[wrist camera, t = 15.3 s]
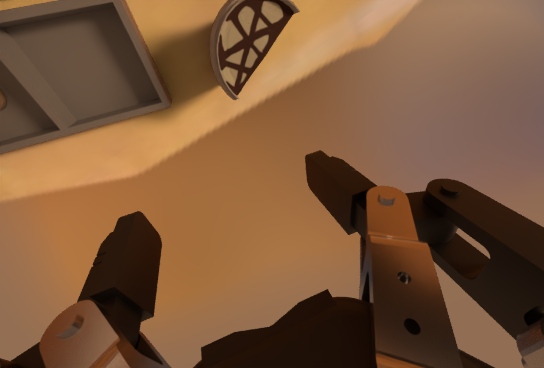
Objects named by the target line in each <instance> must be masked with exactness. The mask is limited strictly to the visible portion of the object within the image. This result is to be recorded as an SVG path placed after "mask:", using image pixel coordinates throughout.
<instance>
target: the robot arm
mask: <svg viewBox="0 0 544 368" xmlns="http://www.w3.org/2000/svg"><path fill="white" fill-rule="evenodd" d="M305 163H306V174H307V182H308V185H309V188H310V189H311V191H312V192H313V193H314V194H315V196H316V197H317V198H318V199H319V201H320V202H321V203H322V204H323V205H324V206H325V208H326V209H327V210H328V211H329V212H330V214H331V215H332V216H333V217H334V218H335V219H336V220H337V222H338V223H339V224H340V225H341V227H342V228H343V229H344V230H345V231H346V233H347V234H348V235H350V234H352V233H355V232H358V233H359V234H360V235H361V237H360V287H359V288H360V289H359V299H355V298H350V297H332V296H331V294H330V293H329V291H328V289H327V290H325V291H323V292H320V293H318V294H316V295H314V296H312V297H310V298H307V299H305V300H303V301H301V302H299V303H298V304H297V305H295V306H294V307H293V308H292V309H291V310H290V311H288V312H287V313H286V314H285V315H284V316H283V317H281V318H280V319H279V320H278V321H277V322H276V323H275V324H273V325H272V326H270V327H265V328H259V329H252V330H246V331H239V332H234V333H232V334H230V335H227V336H225V337H223V338H221V339H219V340H217V341H214V342H212V343H210V344H208V345H206V346H204V347H201V353H202V354H201V355H202V360H201V361H200V362H198V363H197V364H196V365H195V366H194V367H193V368H494V367H492V366H490V365H488V364H487V363H484V362H483V361H481V360H479V359H477V358H475V357H473V356H471V355H469V354H467V353H465V352H463V351H461V350H460V349H458V347H457V344H456V340H455V337H454V333H453V329H452V326H451V322H450V319H449V315H448V312H447V308H446V305H445V302H444V298H443V294H442V291H441V287H440V284H439V281H438V277H437V273H436V270H435V266H434V262H435V263H436V264H437V265H438V266H439V267H440V268H441V269H442V270H444V272H446V273H447V274H448V275H449V276H450V277H451V278H452V279H453V280H454V281H455V282H456V283H457V284H458V285H459V286H460V287H461V288H462V289H463V290H464V291H465V292H466V293H467V294H468V295H469V296H471V297H472V298H473V299H474V300H475V301H476V302H477V303H478V304H479V305H480V306H481V307H482V308H483V309H484V310H485V311H486V312H487V313H488V314H489V315H490V316H491V317H492V318H493V319H494V320H496V322H498V323H499V324H500V325H501V326H502V327H503V328H504V329H505V330H506V331H507V332H508V333H509V334H510V335H511V336H512V337H513V338H514V339H515V340H516V343H517V347H518V350H519V352H520V354H521V356H522V360H521V361H522V364H523V366H524V368H544V227H542V226H540V225H538V224H536V223H535V222H533V221H531V220H529V219H528V218H526V217H524V216H522V215H520V214H518V213H517V212H515V211H513V210H511V209H509V208H508V207H506V206H504V205H502V204H500V203H498V202H497V201H495V200H493V199H491V198H490V197H488V196H486V195H484V194H482V193H481V192H479V191H477V190H475V189H473V188H472V187H470V186H468V185H466V184H464V183H462V182H459V181H456V180H451V179H435V180H432V181H431V182H429V183H428V185H427V188H426V191H422V192H414V193H404V192H402V191H401V190H399V189H397V188H394V187H390V186H377V185H375V184H374V183H373V182H371V181H370V180H369V179H367V178H366V177H365V176H363V175H362V174H361V173H359V172H358V171H356V170H355V169H354V168H353V167H351V166H350V165H349V164H348V163H346V162H345V161H344V160H342V159H339V158H336V157H333V156H332V157H329V156H327V155H326V154H325V153H324V152H322V151H321V150H319V151H316V152H313V153H310V154H308V155H306V156H305ZM458 228H460V229H461V230H462V231H464V232H465V233H466V234H468V235H469V236H470V237H472V238H473V239H475V240H476V241H477V242H479V243H480V244H481V245H483V246H484V247H485V248H486V249H487V251H488V252H489V254H490V259H489V258H488V257H487V256H485V255H484V254H483V253H481V252H480V251H479V250H477V249H476V248H475V247H473V246H472V245H471V244H470V243H468V242H467V241H466V240H464V239H463V238H462V237H460V236H459V235H458V234H457V233H456V231H457V229H458ZM161 248H162V242H161V238H160V235H159V234H158V232H157V231H156V230H155V228H154V227H153V226H152V224H151V223H150V222H149V221H148V219H147V218H146V217H145V216H144V214H143V213H142V212H140V211H137V212H134V213H132V214H128V215H125V216H123V217H120V218H119V219H118V221H117V224H116V226H115V229H114V231H113V232H111V233H110V234H109V235H108V236H107V238H106V239H105V240H104V241H103V243H102V244H101V246H100V248H99V251H98V253H97V257H96V258H95V260H94V262H93V267H92V268H91V270H90V272H89V274H88V277H87V279H86V282H85V284H84V287H83V289H82V292H81V294H80V296H79V298H78V301H77V303H75V304H73V305H71V306H70V307H68V308H67V309H66V310H64V311H63V312H62V313H61V314H59V315H58V316H57V317H56V318H55V319H54V320H53V321H52V323H51V324H50V325H49V326H48V328H47V329H46V331H45V333H44V334H43V336H42V338H41V341H40V342H39V343H37V344H36V345H34V346H33V347H31V348H30V349H28V350H27V351H25V352H24V353H22V354H21V355H19V356H17V357H16V358H15V359H13V360H11V361H8V360H4V359H1V358H0V368H171V367H170V365H169V364H168V363H167V362H166V361H165V360H164V358H163V357H162V356H161V355H160V353H159V352H158V351H157V350H156V349H155V347H154V346H153V345H152V344H151V343H150V341H149V340H148V339H147V338H146V336H145V335H144V334H143V333H142V332H141V331H140V324H141V322H142V321H144V320H147V319H149V318H151V317H153V316H154V309H155V300H156V292H157V283H158V274H159V266H160V257H161ZM433 261H434V262H433Z"/></svg>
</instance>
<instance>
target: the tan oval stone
mask: <svg viewBox="0 0 544 368" xmlns="http://www.w3.org/2000/svg"><path fill="white" fill-rule="evenodd" d="M6 106H7V98H6V96H5V94H4V92H3V91H2V90H1V89H0V111H2V110H3V109H5V108H6Z"/></svg>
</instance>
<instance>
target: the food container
mask: <svg viewBox="0 0 544 368" xmlns="http://www.w3.org/2000/svg"><path fill="white" fill-rule="evenodd" d="M298 12H300V11H299V9H298V8H297V7H296V6H295V4H294V3H293V2H292V1H290V0H228V1H227V2H226V3H225V4H224V5H223V7H222V8H221V10H220V11H219V12H218V15H217V17H216V19H215V21H214V24H213V27H212V30H211V36H210V58H211V64H212V68H213V71H214V74H215V76H216V78H217V81H218V82H219V84H220V86H221V87H222V89H223V90H224V91H225V92H226V94H227V95H228V96H229V97H231V98H232V99H233V100H237V99H238V100H239V98H238V96H237V95H238V94H239V93H240V92H241V90H242V88H243V86H244V85H245V83H246V82H247V81H248V79H249V78H250V76H251V75H252V74H253V72H254V71H255V69H256V68H257V67H258V65H259V64H260V63H261V61H262V60H263V59H264V57H265V56H266V54H267V53H268V51H269V49H270V48H271V46H272V45H273V43H274V42H275V40H276V39H277V37H278V36H279V34H280V33H281V31H282V30H283V28H284V27H285V26H286V24H287V23H288V21H289V20H290V18H291V17H292V15H293V14H295V13H298Z"/></svg>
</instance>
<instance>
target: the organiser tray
mask: <svg viewBox="0 0 544 368" xmlns="http://www.w3.org/2000/svg"><path fill="white" fill-rule="evenodd" d="M0 89H1V90H2V91H3V92H4V94H5V96H6V98H7V106H6V108H5V109H3V110H2V111H0V154H2V153H5V152H9V151H12V150H16V149H20V148H23V147H27V146H31V145H34V144H38V143H41V142H45V141H49V140H52V139H56V138H59V137H63V136H67V135H70V134H74V133H77V132H81V131H85V130H88V129H92V128H96V127H99V126H103V125H106V124H110V123H114V122H117V121H121V120H124V119H128V118H132V117H135V116H139V115H142V114H146V113H150V112H153V111H157V110H161V109H164V108H168V107H171V103H172V100H171V98H170V96H169V93H168V91H167V89H166V87H165V85H164V83H163V80H162V78H161V76H160V74H159V72H158V70H157V67H156V65H155V63H154V61H153V59H152V57H151V55H150V52H149V50H148V48H147V46H146V44H145V42H144V39H143V37H142V35H141V33H140V31H139V29H138V26H137V24H136V22H135V20H134V18H133V16H132V13H131V11H130V9H129V7H128V5H127V3H126V0H58V1H52V2H47V3H41V4H36V5H30V6H24V7H19V8H13V9H8V10H2V11H0Z"/></svg>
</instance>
